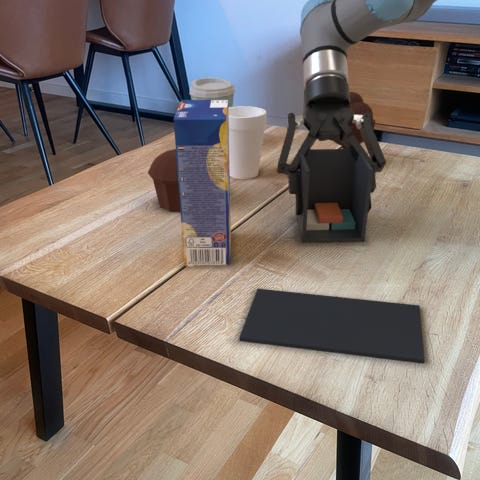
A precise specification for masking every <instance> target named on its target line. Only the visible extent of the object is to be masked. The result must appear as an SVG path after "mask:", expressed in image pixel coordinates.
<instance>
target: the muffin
mask: <svg viewBox="0 0 480 480" xmlns="http://www.w3.org/2000/svg"><path fill="white" fill-rule="evenodd" d="M147 175H149V177H150V178H151V179H152V182H153V186H154V190H155V193H156V197H157V201H158V205H159V209H162V210H166V211H168V212H170V213H181V212H180V198H179V185H178V172H177V158H176V148H174V149H173V148H172V149H169V150H166V151H164V152H162V153H160V154H159V155H157V156H156V157H155V158H154V160H153V161H152V162H151V164H150V166H149V169H148V171H147Z"/></svg>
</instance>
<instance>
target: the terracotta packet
mask: <svg viewBox="0 0 480 480" xmlns="http://www.w3.org/2000/svg"><path fill="white" fill-rule="evenodd" d="M314 211H315V213H316V216H317V219H318V222H319V223H343V215H342V213H341V210H340V208H339V206H338V203H314Z"/></svg>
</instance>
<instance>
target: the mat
mask: <svg viewBox="0 0 480 480" xmlns="http://www.w3.org/2000/svg"><path fill="white" fill-rule="evenodd" d="M420 307H421V306H420V305H419V304H411V303H400V302H391V301H381V300H371V299H361V298H353V297H343V296H335V295H334V296H332V295H322V294H316V293H315V294H313V293H303V292H295V291H286V290H285V291H284V290H276V289H275V290H274V289H265V288H257V289H256V292H255V293H254V297H253V300H252V302H251V305H250V308H249V311H248V313H247V316H246V319H245V322H244V324H243V327H242V330H241V332H240V335H239V339H238V340H239V342H244V343H252V344H260V345H269V346H275V347H285V348H294V349H302V350H308V351H309V350H310V351H316V352H317V351H318V352H325V353H334V354H342V355H349V356H358V357H367V358H374V359H375V358H376V359H384V360H389V361H399V362H407V363H417V364H425V362H426V361H425V359H426V358H425V350H424V349H425V348H424V339H423V329H422V318H421V308H420Z"/></svg>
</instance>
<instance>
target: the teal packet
mask: <svg viewBox="0 0 480 480" xmlns="http://www.w3.org/2000/svg"><path fill="white" fill-rule="evenodd" d="M340 210H341V213H342V215H343V223H329V225H330V227H331V230H347V229H355V226H356V222H355V220H354V218H353V216H352V214H351V212H350V210H349V209H340Z"/></svg>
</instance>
